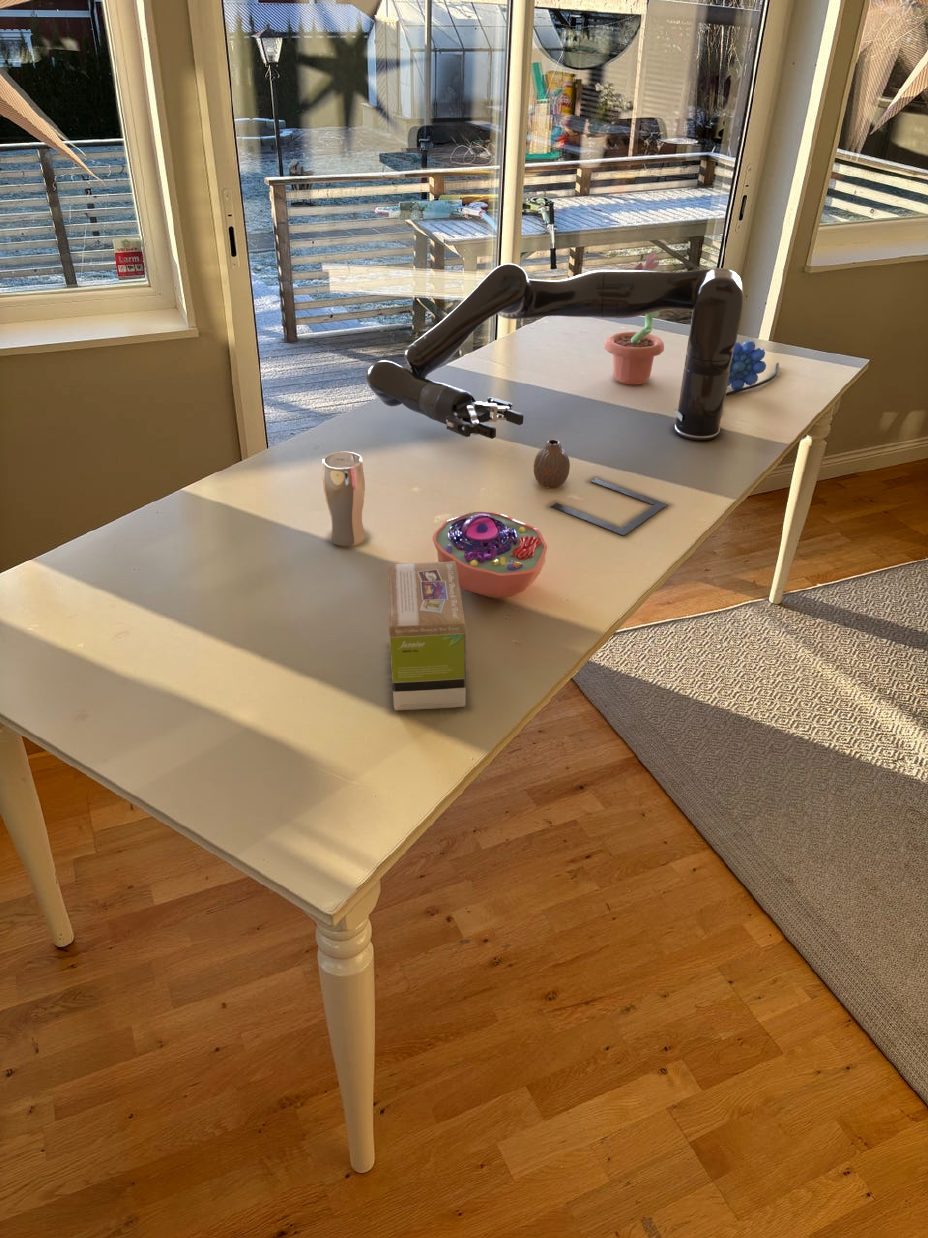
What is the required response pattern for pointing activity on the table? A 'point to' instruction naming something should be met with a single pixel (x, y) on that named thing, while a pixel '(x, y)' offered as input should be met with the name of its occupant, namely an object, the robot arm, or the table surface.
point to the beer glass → (345, 497)
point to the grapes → (746, 365)
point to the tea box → (426, 636)
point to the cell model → (491, 553)
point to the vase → (551, 465)
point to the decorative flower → (636, 345)
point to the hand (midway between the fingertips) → (508, 426)
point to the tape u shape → (621, 531)
